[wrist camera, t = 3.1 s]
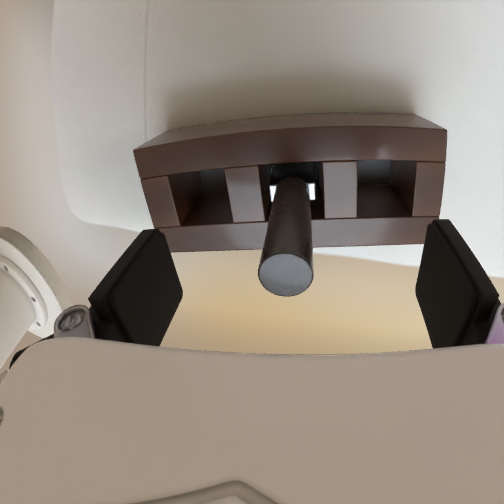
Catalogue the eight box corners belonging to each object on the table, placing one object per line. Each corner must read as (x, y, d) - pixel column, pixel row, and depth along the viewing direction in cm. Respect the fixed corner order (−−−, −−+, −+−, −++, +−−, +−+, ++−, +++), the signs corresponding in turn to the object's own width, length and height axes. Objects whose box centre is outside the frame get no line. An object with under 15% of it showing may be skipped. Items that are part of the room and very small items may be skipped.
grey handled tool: (313, 176, 20) (322, 296, 10) (277, 178, 21) (252, 297, 11) (311, 150, 19) (322, 251, 9) (274, 152, 20) (245, 253, 10)
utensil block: (411, 207, 20) (434, 244, 16) (186, 217, 23) (161, 253, 19) (416, 114, 16) (447, 129, 12) (166, 130, 20) (132, 150, 16)
